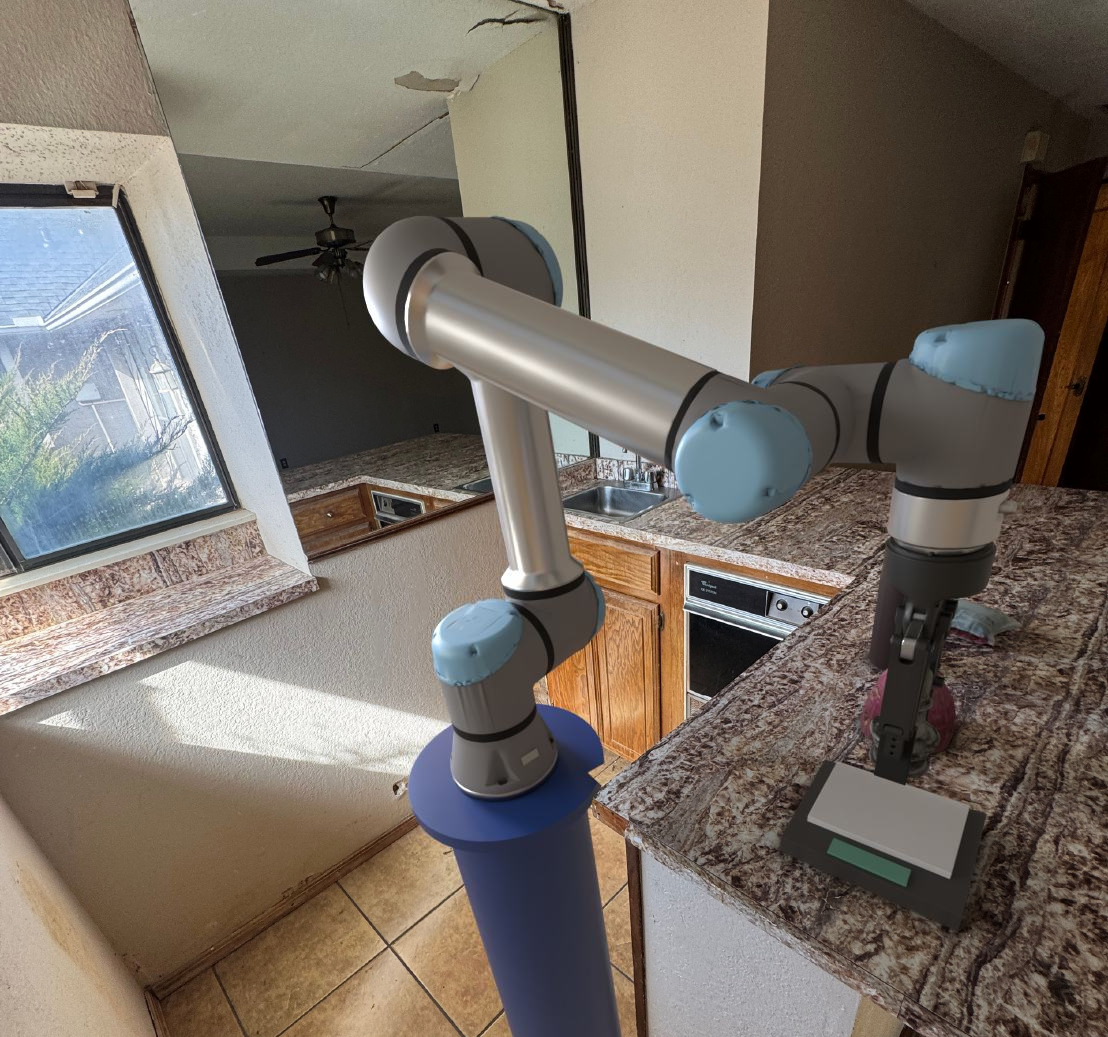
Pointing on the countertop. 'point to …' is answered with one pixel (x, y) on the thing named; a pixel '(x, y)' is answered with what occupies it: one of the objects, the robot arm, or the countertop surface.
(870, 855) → the scale
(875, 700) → the vegetable
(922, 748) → the chess piece
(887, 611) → the bottle
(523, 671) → the robot arm
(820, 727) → the countertop surface
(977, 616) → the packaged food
